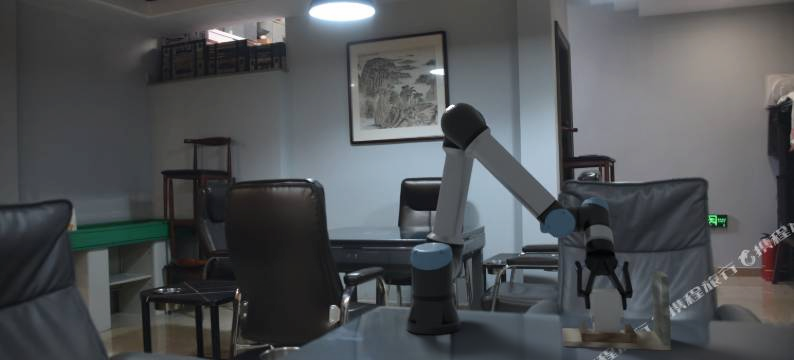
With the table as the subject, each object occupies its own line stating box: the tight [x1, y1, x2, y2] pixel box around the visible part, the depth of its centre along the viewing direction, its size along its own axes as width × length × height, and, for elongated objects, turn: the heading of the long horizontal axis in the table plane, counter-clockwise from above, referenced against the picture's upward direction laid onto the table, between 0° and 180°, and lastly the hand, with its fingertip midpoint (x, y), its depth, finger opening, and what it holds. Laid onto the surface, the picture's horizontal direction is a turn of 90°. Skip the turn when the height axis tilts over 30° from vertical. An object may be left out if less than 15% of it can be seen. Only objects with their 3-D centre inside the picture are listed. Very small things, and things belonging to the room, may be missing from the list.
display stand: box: [561, 268, 672, 351], centre depth 143 cm, size 24×13×17 cm, turn 75°
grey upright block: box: [591, 287, 622, 333], centre depth 143 cm, size 6×6×10 cm
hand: (607, 319), depth 140 cm, fingers closed on grey upright block, 6 cm apart
